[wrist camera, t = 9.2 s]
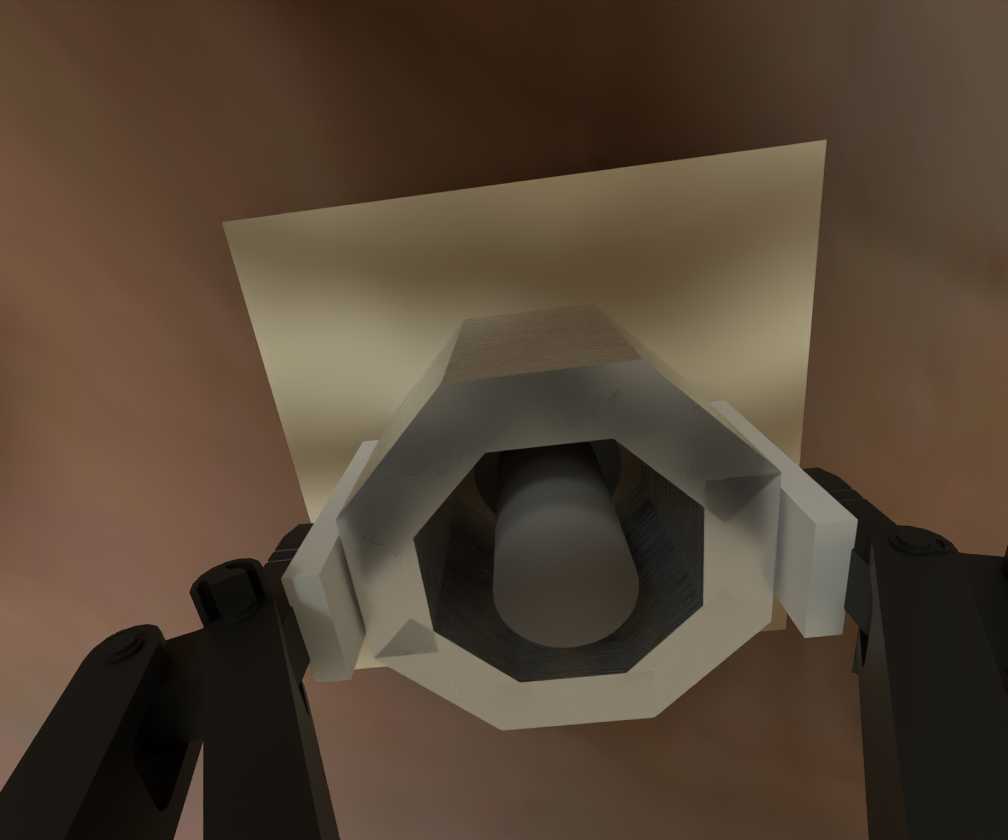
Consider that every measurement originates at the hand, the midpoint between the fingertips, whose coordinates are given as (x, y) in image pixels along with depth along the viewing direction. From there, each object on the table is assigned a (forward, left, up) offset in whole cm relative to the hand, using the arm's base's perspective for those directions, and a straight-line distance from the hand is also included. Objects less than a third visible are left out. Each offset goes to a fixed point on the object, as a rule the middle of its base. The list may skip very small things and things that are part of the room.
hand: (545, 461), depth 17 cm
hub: (0, 0, 0) cm, 0 cm away
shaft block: (0, 0, -2) cm, 2 cm away
